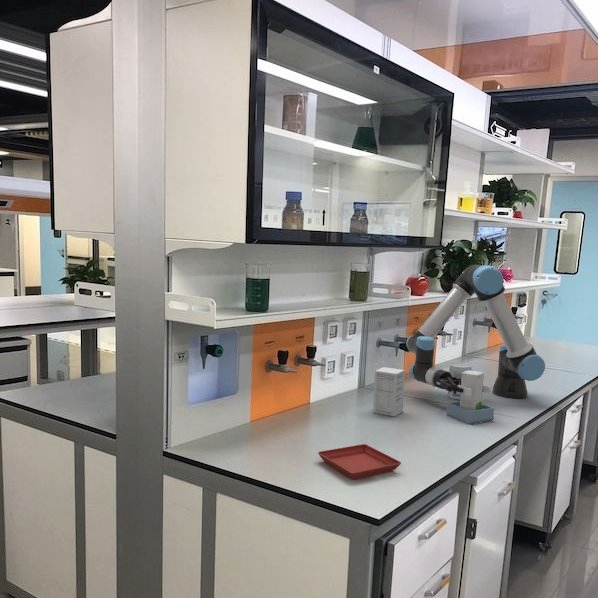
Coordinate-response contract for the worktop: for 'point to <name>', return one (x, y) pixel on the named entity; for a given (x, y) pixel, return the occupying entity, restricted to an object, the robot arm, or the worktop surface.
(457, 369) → the supplement tub
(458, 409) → the crate
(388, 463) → the plant saucer
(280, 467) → the worktop surface
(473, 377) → the skincare box
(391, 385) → the supplement box
